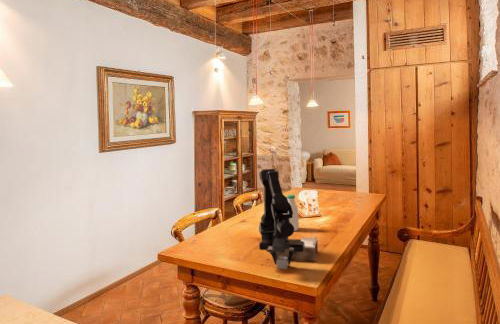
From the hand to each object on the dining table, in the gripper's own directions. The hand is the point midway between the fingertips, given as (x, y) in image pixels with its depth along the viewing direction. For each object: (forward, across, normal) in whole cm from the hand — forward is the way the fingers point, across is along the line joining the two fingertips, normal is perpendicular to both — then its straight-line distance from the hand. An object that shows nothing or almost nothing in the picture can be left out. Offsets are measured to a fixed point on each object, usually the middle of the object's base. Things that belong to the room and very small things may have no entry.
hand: (282, 264), depth 160 cm
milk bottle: (+1, -4, +53) cm, 53 cm away
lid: (-5, +9, +14) cm, 18 cm away
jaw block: (+1, 0, 0) cm, 1 cm away
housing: (+1, +4, +14) cm, 15 cm away
